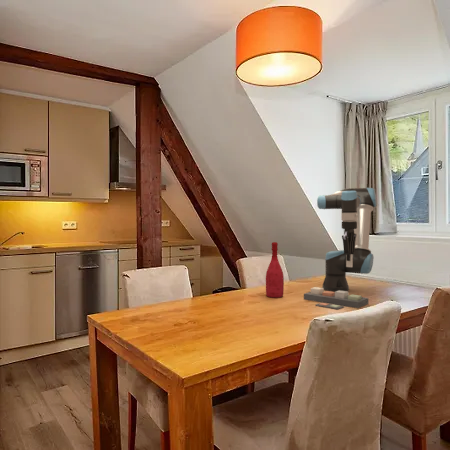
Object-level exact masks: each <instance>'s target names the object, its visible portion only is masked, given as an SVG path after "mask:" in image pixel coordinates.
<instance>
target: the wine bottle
mask: <svg viewBox="0 0 450 450" xmlns="http://www.w3.org/2000/svg"><path fill="white" fill-rule="evenodd" d="M278 245H279V244H278V242H277V241H273V242H271V251H272V252H271V260H270V262H269V264H268V267H267V269H266V274H265V295H266V296H267V297H268V298H271V299H272V298H273V299H278V298H282V297H284V290H285V289H284V285H285V283H284V282H285V281H284V279H285V278H284V272H283V269H282V268H283V267H281V264H280V261H279V258H278V250H279V249H278Z"/></svg>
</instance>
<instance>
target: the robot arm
mask: <svg viewBox="0 0 450 450" xmlns="http://www.w3.org/2000/svg"><path fill="white" fill-rule="evenodd" d="M376 194H377V193H376V189H374V188H373V187H359V188H358V187H357V188H356V187H354V188H345V189H341V190H338V191H335V192H334V193H332V194H328V195H326V194H323V195H319V196H318V197H317V199H316V201H317V203H316V204H317V205H316V206H317V208H318V209H319V210H341V229H342V230H344V233H343V235H341V239H342V246H343V249H339V250H331V251H328V252H326V253H325V259H324V261H325V276H324V280H323V283H322V288H324V291H332V292H336V291H339V290H340V291H348V292H349V290H350V287H349V282H348V279H347V278H346V277H347V276H346V275H347V273H349V274H361V275H362V274H365V275H367V274H370V273H371V272H372V270H373V269H372V268H373V265H374V254H373V253H372V251H371V249H370V248H369V246H370V227H371V215H372V214H371V213H372V211H373V212H374V208H376V207H377V204H378V203H377V195H376Z"/></svg>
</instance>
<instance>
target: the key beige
mask: <svg viewBox="0 0 450 450" xmlns="http://www.w3.org/2000/svg"><path fill="white" fill-rule="evenodd" d="M334 292H335V297H337V298H344V299H345V298H347V297H348V295H349V290H348V291H340V290H339V291H334Z"/></svg>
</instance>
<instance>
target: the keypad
mask: <svg viewBox="0 0 450 450" xmlns="http://www.w3.org/2000/svg"><path fill="white" fill-rule="evenodd" d="M349 295H350V294H348V296H349ZM303 300H305V301H310V302H311V301H313V302H318V303H327V304H333V305H339V306H344V307H348V308H352V309H353V308H354V309H361V308H363V307H365V306H367V305H369V297H364V296H362V299H361V300H358V301H357V300H350V299H348V297H347V298H345V299H344V298H337V297H335V296H332V297H331V296H324V295H322V294H320V295H318V294H311V291H308V292H305V293H303Z"/></svg>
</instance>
